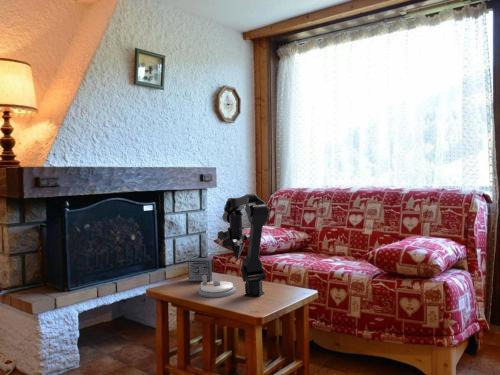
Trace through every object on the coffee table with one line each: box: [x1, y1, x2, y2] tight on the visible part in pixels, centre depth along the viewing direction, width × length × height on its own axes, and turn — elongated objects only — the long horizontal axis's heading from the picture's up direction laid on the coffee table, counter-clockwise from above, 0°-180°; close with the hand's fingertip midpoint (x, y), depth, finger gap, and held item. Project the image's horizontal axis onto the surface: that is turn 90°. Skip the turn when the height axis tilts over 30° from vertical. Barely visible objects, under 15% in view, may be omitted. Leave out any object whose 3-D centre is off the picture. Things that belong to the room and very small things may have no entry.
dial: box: [200, 275, 234, 293], centre depth 184 cm, size 14×14×5 cm
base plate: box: [198, 282, 236, 299], centre depth 184 cm, size 16×16×4 cm
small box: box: [187, 257, 213, 283], centre depth 205 cm, size 11×6×10 cm, turn 84°
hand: (237, 258), depth 195 cm, fingers closed
